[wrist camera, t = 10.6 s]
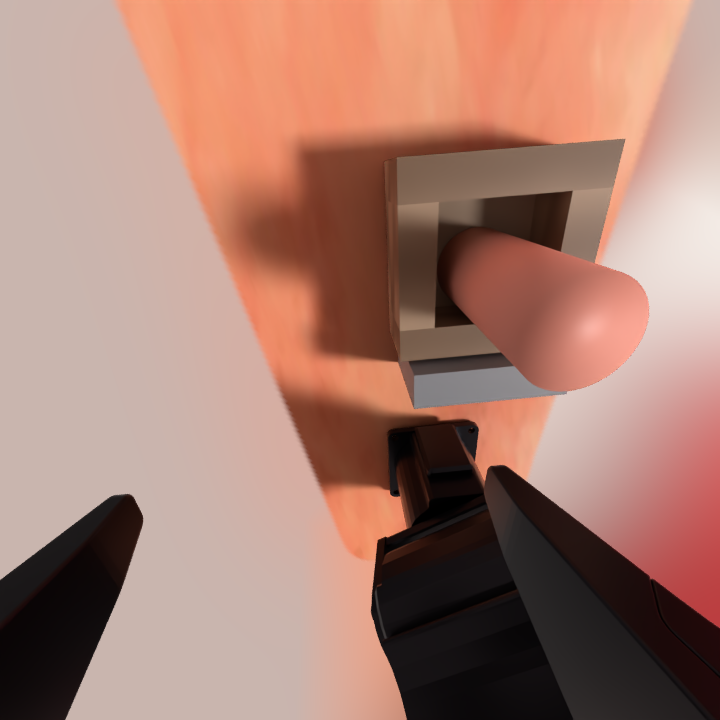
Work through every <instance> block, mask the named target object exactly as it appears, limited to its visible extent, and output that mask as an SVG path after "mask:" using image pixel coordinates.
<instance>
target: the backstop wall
mask: <svg viewBox="0 0 720 720" xmlns="http://www.w3.org/2000/svg"><path fill="white" fill-rule="evenodd" d="M398 363H399V366H400V369H401V372H402V375H403V378H404V381H405V384H406V387H407V390H408V393H409V395H410V398H411V401H412V404H413V407H414V409H418V408H428V407H439V406H449V405H459V404H470V403H480V402H490V401H500V400H511V399H521V398H531V397H541V396H552V395H561V394H566V393H567V391H562V392H558V391H549V390H545V389H542V388H539V387H537V386H535V385H533V384H532V383H530V382H529V381H528V380H527V379H526V378H525V377H524V376H523V375H522V374H521V373H520V372H519V371H518V370H517V369H516V367H515V366H514V365H513V364H512V363H511V362H510V361H509V360H508V359H507V358H506V357H505V356H504V355H503V354H502V353H501V352H499V353H489V354H478V355H467V356H457V357H446V358H436V359H425V360H414V361H404V362H400V359H399V356H398Z"/></svg>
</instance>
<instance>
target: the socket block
mask: <svg viewBox="0 0 720 720" xmlns="http://www.w3.org/2000/svg"><path fill="white" fill-rule="evenodd" d="M624 142H625V139H617V140H605V141H592V142H580V143H568V144H555V145H543V146H530V147H518V148H506V149H493V150H481V151H469V152H456V153H444V154H432V155H419V156H407V157H396V158H393V159H390V160H387V161H384V170H385V200H386V230H387V260H388V290H389V320H390V333H391V336H392V339H393V342H394V345H395V348H396V350H397V353H398V356H399V359H400V362H404V361H414V360H425V359H436V358H446V357H457V356H467V355H478V354H489V353H499V352H500V351H499V350H498V349H497V347H496V346H495V345H494V344H493V343H492V342H491V341H490V340H489V339H488V338H487V337H486V336H485V335H484V334H483V333H482V332H481V331H480V330H479V329H478V327H477V326H476V325H475V324H474V323H473V322H472V321H471V320H470V319H469V318H468V317H467V316H466V315H465V314H464V313H463V312H462V311H461V310H460V309H459V307H458V306H457V305H456V304H455V303H454V302H453V301H452V300H451V299H450V298H449V297H448V296H447V295H446V294H445V293H444V292H443V290H442V289H441V287H440V285H439V282H438V278H437V265H438V260H439V257H440V255H441V253H442V251H443V249H444V247H445V246H446V245H447V243H448V242H449V241H450V240H451V239H452V238H453V237H455V236H456V235H457V234H459V233H460V232H462V231H464V230H467V229H470V228H474V227H487V228H491V229H494V230H497V231H500V232H503V233H506V234H509V235H512V236H515V237H518V238H521V239H524V240H527V241H530V242H533V243H536V244H539V245H542V246H545V247H548V248H551V249H554V250H557V251H560V252H563V253H565V254H568V255H571V256H574V257H577V258H580V259H583V260H586V261H589V262H592V263H595V259H596V255H597V251H598V247H599V243H600V239H601V235H602V231H603V227H604V223H605V219H606V215H607V211H608V207H609V203H610V199H611V194H612V190H613V186H614V182H615V178H616V174H617V170H618V166H619V162H620V158H621V154H622V150H623V146H624Z"/></svg>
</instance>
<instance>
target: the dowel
mask: <svg viewBox="0 0 720 720" xmlns="http://www.w3.org/2000/svg"><path fill="white" fill-rule="evenodd" d="M437 278H438V282H439V285H440V287H441V289H442V290H443V292H444V293H445V294H446V295H447V296H448V297H449V298H450V299H451V300H452V301H453V302H454V303H455V304H456V305H457V306H458V307H459V309H460V310H461V311H462V312H463V313H464V314H465V315H466V316H467V317H468V318H469V319H470V320H471V321H472V322H473V323H474V324H475V325H476V326H477V327H478V329H479V330H480V331H481V332H482V333H483V334H484V335H485V336H486V337H487V338H488V339H489V340H490V341H491V342H492V343H493V344H494V345H495V346H496V347H497V349H498V350H499V351H500V352H501V353H502V354H503V355H504V356H505V357H506V358H507V359H508V360H509V361H510V362H511V363H512V364H513V365H514V366H515V367H516V369H517V370H518V371H519V372H520V373H521V374H522V375H523V376H524V377H525V378H526V379H527V380H528V381H529V382H530V383H532V384H533V385H535V386H537V387H539V388H542V389H545V390H549V391H558V392H562V391H572V390H576V389H581V388H584V387H587V386H590V385H592V384H594V383H596V382H599V381H600V380H602V379H603V378H605V377H607V376H608V375H610V374H611V373H613V372H614V371H615V370H617V369H618V368H619V367H620V366H621V365H622V364H623V363H624V362H625V361H626V360H627V359H628V358H629V357H630V356H631V354H632V353H633V352H634V351H635V349H636V347H637V346H638V345H639V343H640V341H641V339H642V337H643V335H644V333H645V330H646V326H647V323H648V318H649V304H648V298H647V296H646V293H645V291H644V289H643V288H642V286H641V285H640V284H639V283H638V282H637V281H636V280H635V279H633V278H632V277H631V276H629V275H627V274H625V273H622V272H619V271H616V270H613V269H610V268H607V267H604V266H601V265H598V264H595V263H592V262H589V261H586V260H583V259H580V258H577V257H574V256H571V255H568V254H565V253H563V252H560V251H557V250H554V249H551V248H548V247H545V246H542V245H539V244H536V243H533V242H530V241H527V240H524V239H521V238H518V237H515V236H512V235H509V234H506V233H503V232H500V231H497V230H494V229H491V228H487V227H474V228H470V229H467V230H464V231H462V232H460V233H459V234H457V235H456V236H455V237H453V238H452V239H451V240H450V241H449V242H448V243H447V245H446V246H445V247H444V249H443V251H442V253H441V255H440V257H439V260H438V265H437Z"/></svg>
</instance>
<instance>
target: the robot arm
mask: <svg viewBox="0 0 720 720" xmlns="http://www.w3.org/2000/svg"><path fill="white" fill-rule="evenodd" d="M470 428H472V429H471V430H469V429H470ZM478 431H479V429H478V426H477V425H476V423H475V422H461V423H451V424H440V425H430V426H420V427H410V428H400V429H392V430H390V431H389V432H388V434H387V442H388V465H389V487H390V494H391V495H392V496H394V497H398V496H400V497H401V502H402V507H403V512H404V517H405V522H406V527H407V529H405V530H403V531H401V532H399V533H396V534H394V535H392V536H390V537H388V538H387V537H384V538H381V539H379V540H378V542H377V552H376V562H375V571H374V582H373V590H372V606H371V614H372V618H373V620H374V624H375V628H376V632H377V635H378V638H379V641H380V643H381V646H382V648H383V650H384V653H385V655H386V656H387V658H388V661H389V663H390V665H391V667H392V670H393V673H394V676H395V679H396V682H397V684H398V688H399V690H400V694H401V698H402V701H403V705H404V709H405V713H406V717H407V720H720V628H719V627H717V626H716V625H714V624H713V623H712V622H710V621H709V620H707V619H706V618H704V617H703V616H702V615H701V614H699V613H698V612H697V611H695V610H694V609H693V608H691V607H690V606H688V605H687V604H686V603H684V602H683V601H682V600H680V599H679V598H678V597H676V596H675V595H674V594H672V593H671V592H670V591H668V590H667V589H666V588H665V587H663V586H662V585H660V584H659V583H658V582H657V581H656V580H654V579H650V577H649V575H648V574H646V573H644V571H642V570H641V569H640V568H638V567H637V566H636V565H635V564H633V563H632V562H631V561H629V560H628V559H627V558H625V557H624V556H623V555H621V554H620V553H619V552H618V551H616V550H615V549H614V548H612V547H611V546H610V545H608V544H607V543H606V542H605V541H603V540H602V539H600V538H599V537H598V536H597V535H596V534H594V533H593V532H592V531H590V530H589V529H588V528H586V527H585V526H584V525H583V524H581V523H580V522H579V521H577V520H576V519H575V518H573V517H572V516H571V515H570V514H568V513H567V512H566V511H564V510H563V509H562V508H560V507H559V506H558V505H557V504H555V503H554V502H553V501H551V500H550V499H549V498H547V497H546V496H545V495H543V494H542V493H541V492H540V491H538V490H537V489H535V488H534V487H533V486H532V485H530V484H529V483H528V482H527V481H525V480H524V479H523V478H521V477H520V476H519V475H517V474H516V473H515V472H514V471H512V470H511V469H510V468H508V467H507V466H505V465H497V466H490V467H489V468H488V470H487V475H486V480H485V482H484V480H483V478H482V476H481V474H480V472H479V469H478V467H477V465H476V463H475V456H476V448H477V440H478ZM395 435H396V437H392V436H395ZM142 525H143V515H142V513H141V511H140V509H139V507H138V505H137V503H136V501H135V499H134V497H133V496H132V495H130V494H124V495H114V496H111V497H109V498H108V499H107V500H105V501H104V502H103V503H101V504H100V505H99V506H97V507H96V508H95V509H93V510H92V511H91V512H90V513H88V514H87V515H85V516H84V517H83V518H82V519H80V520H79V521H78V522H76V523H75V524H74V525H72V526H71V527H70V528H68V529H67V530H66V531H64V532H63V533H62V534H61V535H59V536H58V537H56V538H55V539H54V540H53V541H51V542H50V543H49V544H47V545H46V546H45V547H43V548H42V549H41V550H39V551H38V552H37V553H35V554H34V555H33V556H31V557H30V558H29V559H27V560H26V561H25V562H24V563H22V564H21V565H19V566H18V567H17V568H16V569H14V570H13V571H11V572H10V573H9V574H7V575H6V576H5V577H4V578H2V579H1V580H0V720H65V719H66V717H67V715H68V712H69V710H70V708H71V705H72V703H73V700H74V698H75V696H76V693H77V691H78V689H79V687H80V684H81V682H82V680H83V678H84V675H85V673H86V670H87V668H88V666H89V664H90V661H91V659H92V657H93V654H94V652H95V650H96V648H97V645H98V643H99V641H100V638H101V636H102V634H103V631H104V629H105V627H106V624H107V622H108V620H109V617H110V615H111V613H112V611H113V608H114V605H115V603H116V601H117V599H118V596H119V594H120V591H121V589H122V586H123V583H124V580H125V577H126V574H127V571H128V568H129V565H130V562H131V559H132V556H133V553H134V550H135V547H136V544H137V541H138V538H139V535H140V531H141V529H142Z"/></svg>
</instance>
